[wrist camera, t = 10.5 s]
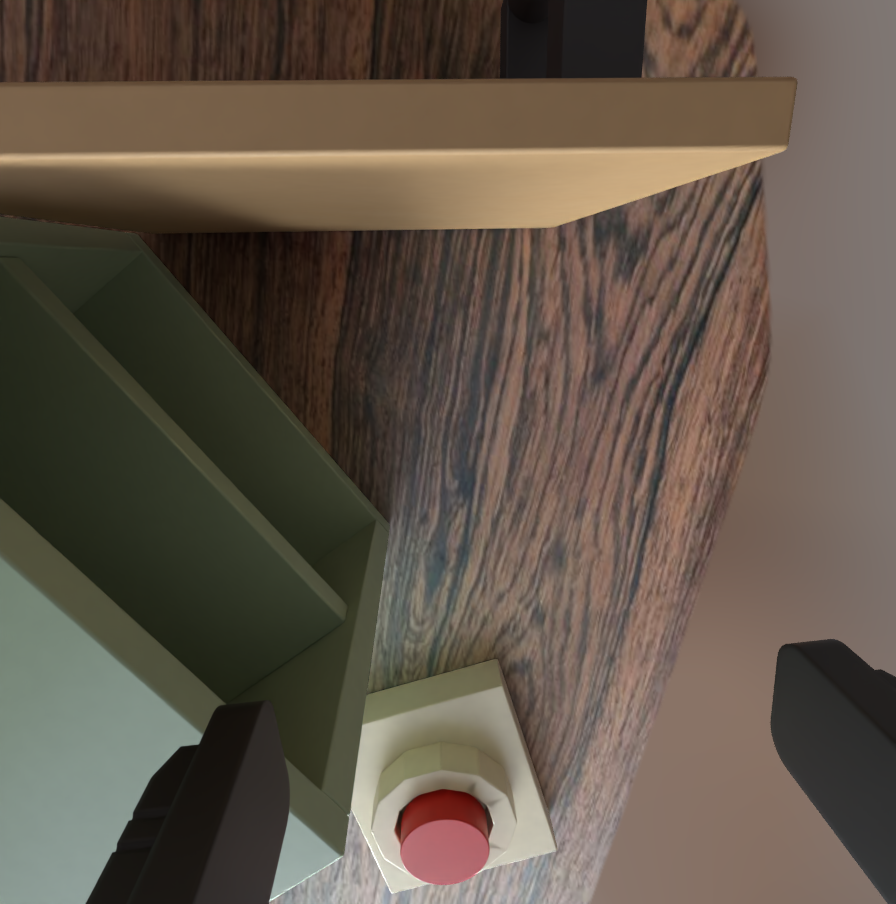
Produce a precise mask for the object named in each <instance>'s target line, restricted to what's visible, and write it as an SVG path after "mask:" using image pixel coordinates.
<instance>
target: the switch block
mask: <svg viewBox="0 0 896 904" xmlns="http://www.w3.org/2000/svg"><path fill="white" fill-rule="evenodd" d="M439 789H448V790H455V791H462V792H466V793H468V794H470V795H472V796H473V797H475V798H476V799H477V800H478V801H479V802H480V803H481V805H482V806H483V808H484V810H485V813H486V820H487V829H488V838H489V847H490V852H489V857H488V860H487V862H486V864H485V866H484V867H483V868H482V869H481V871H483V870H485V869H489V868H493V867H496V866H500V865H504V864H508V863H512V862H516V861H520V860H523V859H527V858H531V857H535V856H539V855H543V854H547V853H550V852H554V851H557V844H556V840H555V836H554V831H553V827H552V823H551V818H550V815H549V812H548V809H547V806H546V803H545V800H544V796H543V793H542V790H541V787H540V784H539V781H538V778H537V775H536V772H535V769H534V766H533V763H532V760H531V757H530V754H529V751H528V748H527V745H526V742H525V739H524V736H523V733H522V730H521V727H520V724H519V721H518V718H517V715H516V712H515V709H514V706H513V703H512V700H511V697H510V694H509V691H508V688H507V685H506V682H505V679H504V676H503V673H502V670H501V667H500V664H499V661H498V659H493V660H489V661H486V662H482V663H479V664H475V665H471V666H468V667H464V668H461V669H457V670H454V671H450V672H446V673H443V674H439V675H436V676H432V677H429V678H425V679H421V680H418V681H414V682H411V683H407V684H404V685H400V686H396V687H393V688H389V689H386V690H382V691H379V692H375V693H371V694H368V695H366V702H365V709H364V716H363V724H362V731H361V738H360V745H359V752H358V759H357V767H356V774H355V781H354V788H353V795H352V802H351V809H352V811H353V813H354V816H355V818H356V820H357V822H358V824H359V826H360V828H361V830H362V832H363V835H364V837H365V839H366V841H367V843H368V845H369V847H370V849H371V852H372V854H373V856H374V858H375V860H376V862H377V864H378V866H379V868H380V871H381V873H382V875H383V877H384V879H385V881H386V883H387V885H388V888H389V890H390V892H391V893H396V892H400V891H404V890H408V889H412V888H415V887H419V886H423V885H427V884H430V883H426V882H423V881H421V880H419V879H417V878H415V877H414V876H412V875H411V874H410V873H409V872H408V871H407V870H406V868H405V867H404V865H403V863H402V860H401V856H400V845H401V823H402V816H403V813H404V811H405V809H406V807H407V806H408V804H409V803H410V802H411V801H412V800H413V799H415V798H416V797H417V796H419V795H421V794H425V793H428V792H432V791H436V790H439ZM481 871H479V872H481Z"/></svg>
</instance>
